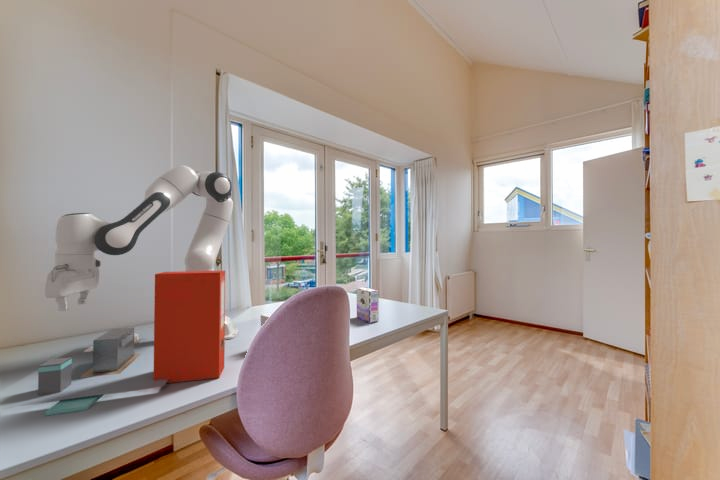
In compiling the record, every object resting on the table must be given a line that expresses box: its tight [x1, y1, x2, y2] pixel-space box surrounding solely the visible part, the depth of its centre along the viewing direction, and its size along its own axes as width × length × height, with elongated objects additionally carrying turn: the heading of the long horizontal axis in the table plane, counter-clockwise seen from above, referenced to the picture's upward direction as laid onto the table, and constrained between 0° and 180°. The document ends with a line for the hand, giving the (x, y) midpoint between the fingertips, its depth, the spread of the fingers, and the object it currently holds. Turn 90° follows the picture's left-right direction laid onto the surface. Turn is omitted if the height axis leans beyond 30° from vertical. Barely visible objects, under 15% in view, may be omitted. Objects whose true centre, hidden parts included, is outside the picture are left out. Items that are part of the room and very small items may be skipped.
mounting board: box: [78, 353, 142, 379], centre depth 92 cm, size 10×16×2 cm, turn 19°
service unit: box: [92, 326, 135, 374], centre depth 92 cm, size 7×12×10 cm, turn 19°
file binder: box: [153, 270, 226, 384], centre depth 88 cm, size 8×17×32 cm, turn 105°
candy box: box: [356, 286, 380, 324], centre depth 153 cm, size 14×6×16 cm, turn 30°
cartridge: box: [37, 356, 73, 396], centre depth 77 cm, size 5×5×9 cm
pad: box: [44, 393, 104, 416], centre depth 73 cm, size 8×8×1 cm
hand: (73, 307), depth 90 cm, fingers open, 8 cm apart
